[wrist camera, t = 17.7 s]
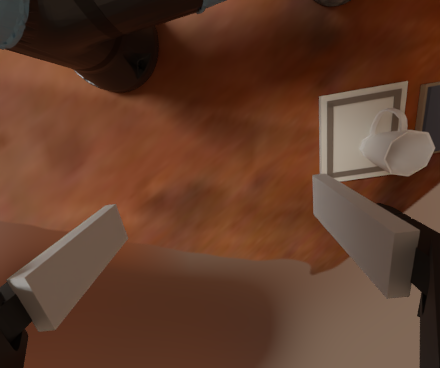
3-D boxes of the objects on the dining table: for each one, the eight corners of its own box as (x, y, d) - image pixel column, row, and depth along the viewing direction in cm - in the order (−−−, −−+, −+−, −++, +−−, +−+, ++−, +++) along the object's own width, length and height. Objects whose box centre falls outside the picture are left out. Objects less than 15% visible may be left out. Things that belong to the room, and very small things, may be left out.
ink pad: (420, 84, 34) (429, 83, 33) (456, 78, 34) (466, 77, 32) (411, 154, 38) (419, 156, 37) (443, 150, 38) (452, 151, 36)
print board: (318, 96, 35) (321, 96, 35) (404, 81, 34) (409, 80, 33) (319, 182, 40) (322, 184, 40) (394, 172, 39) (398, 173, 38)
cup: (352, 168, 39) (384, 182, 31) (349, 114, 35) (383, 114, 28) (392, 159, 38) (434, 171, 30) (392, 103, 35) (439, 100, 27)
